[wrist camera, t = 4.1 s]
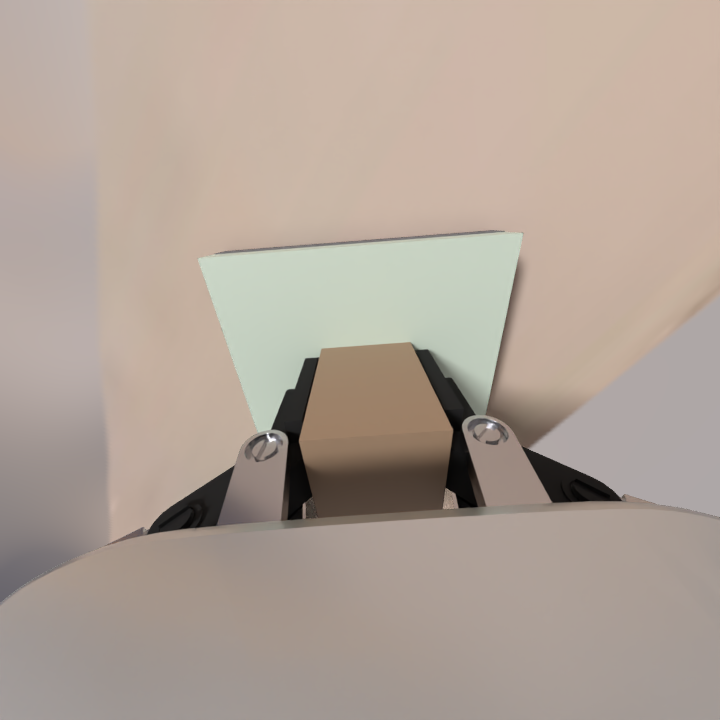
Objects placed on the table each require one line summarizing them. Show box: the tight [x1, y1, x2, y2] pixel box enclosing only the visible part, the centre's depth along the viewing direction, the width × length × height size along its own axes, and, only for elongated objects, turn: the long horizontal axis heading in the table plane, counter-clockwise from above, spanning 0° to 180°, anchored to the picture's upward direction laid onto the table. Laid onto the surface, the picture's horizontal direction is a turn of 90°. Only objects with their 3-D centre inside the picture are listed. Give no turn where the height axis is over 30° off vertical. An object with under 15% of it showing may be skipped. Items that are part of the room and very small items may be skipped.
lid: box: [198, 232, 523, 518], centre depth 10 cm, size 11×11×6 cm
